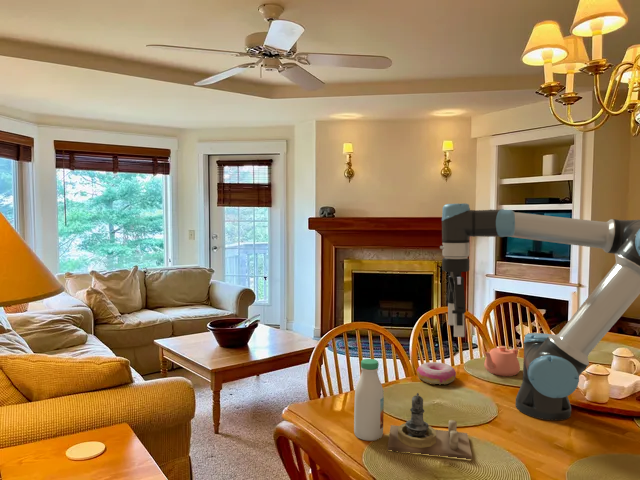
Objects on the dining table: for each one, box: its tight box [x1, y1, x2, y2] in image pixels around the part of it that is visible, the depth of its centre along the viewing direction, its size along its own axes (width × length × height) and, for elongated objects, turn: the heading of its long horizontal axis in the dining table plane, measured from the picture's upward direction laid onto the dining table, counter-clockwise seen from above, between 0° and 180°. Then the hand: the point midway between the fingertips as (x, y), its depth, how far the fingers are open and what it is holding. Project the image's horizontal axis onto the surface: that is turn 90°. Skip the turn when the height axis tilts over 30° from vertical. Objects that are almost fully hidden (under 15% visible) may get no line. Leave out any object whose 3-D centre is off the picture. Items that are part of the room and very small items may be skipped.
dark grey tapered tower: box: [405, 392, 430, 438], centre depth 121 cm, size 6×6×12 cm
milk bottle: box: [353, 358, 385, 442], centre depth 125 cm, size 8×8×20 cm
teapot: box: [483, 345, 521, 377], centre depth 176 cm, size 12×18×10 cm
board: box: [387, 419, 473, 460], centre depth 121 cm, size 20×12×5 cm, turn 78°
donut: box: [416, 361, 457, 386], centre depth 168 cm, size 14×13×5 cm
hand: (455, 330), depth 137 cm, fingers open, 13 cm apart
